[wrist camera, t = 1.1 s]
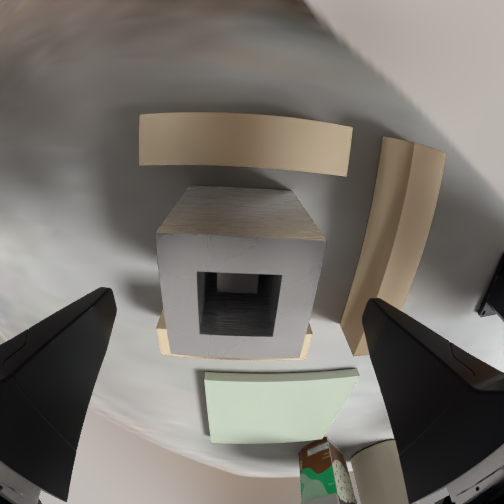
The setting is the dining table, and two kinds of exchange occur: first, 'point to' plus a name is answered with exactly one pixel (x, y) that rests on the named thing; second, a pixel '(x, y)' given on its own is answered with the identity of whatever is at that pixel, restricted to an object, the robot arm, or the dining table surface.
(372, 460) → the travel mug
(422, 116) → the dining table surface
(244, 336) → the steel collar
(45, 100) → the dining table surface
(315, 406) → the board
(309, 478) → the food container
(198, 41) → the dining table surface
